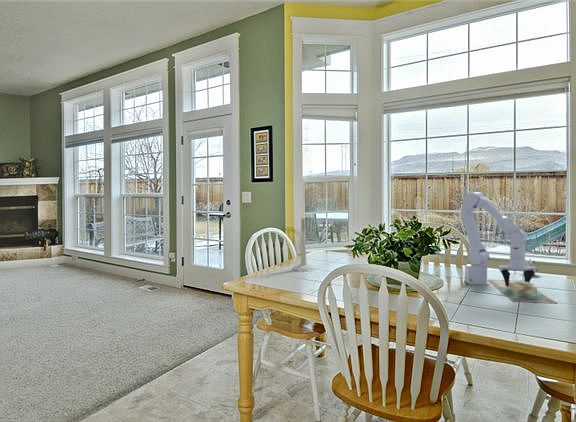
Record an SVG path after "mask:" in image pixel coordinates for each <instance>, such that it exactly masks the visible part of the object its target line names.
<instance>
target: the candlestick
mask: <svg viewBox="0 0 576 422" xmlns="http://www.w3.org/2000/svg"><path fill="white" fill-rule="evenodd" d="M300 221H301V227H300V228H301V229H300V230H299V231H300V234H301V246H300V247H301V248H300V250H301V251H300V263H299V264H297V265H295V266H293V267H292V270H293V269H295V270H300V271H307V272H309V271H308V270H313V269H316V267H315V266H313V265H312V264H309V263H308V262H307V249H306V248H307V245H306V236H305V235H306V231H307V230H306V223H305V221H306V219H305V218H301V220H300ZM295 270H294V271H295ZM300 271H299V272H300ZM313 271H314V270H313Z"/></svg>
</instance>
